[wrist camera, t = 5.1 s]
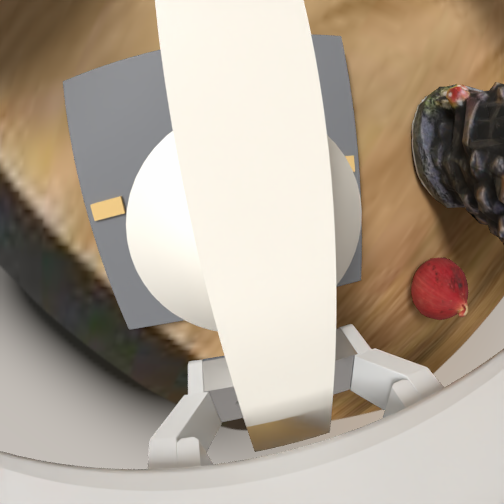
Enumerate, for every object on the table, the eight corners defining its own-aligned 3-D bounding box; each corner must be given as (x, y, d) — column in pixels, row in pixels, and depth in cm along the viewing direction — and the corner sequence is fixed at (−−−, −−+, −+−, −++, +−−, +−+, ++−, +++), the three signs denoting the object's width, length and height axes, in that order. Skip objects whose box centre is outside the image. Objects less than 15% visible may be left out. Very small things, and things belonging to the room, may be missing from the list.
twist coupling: (110, 55, 8) (46, 2, 3) (309, 27, 9) (383, -30, 4) (189, 367, 14) (192, 461, 9) (336, 334, 15) (385, 411, 10)
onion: (403, 247, 26) (458, 284, 18) (441, 245, 27) (494, 277, 19) (391, 299, 28) (436, 345, 21) (429, 293, 29) (473, 331, 21)
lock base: (71, 84, 16) (-1, 62, 7) (332, 41, 18) (405, 2, 9) (132, 319, 24) (110, 402, 15) (353, 272, 26) (413, 333, 17)
